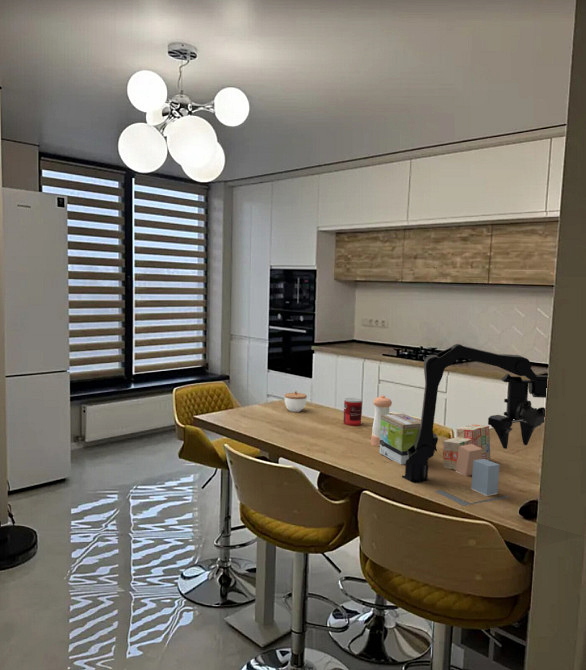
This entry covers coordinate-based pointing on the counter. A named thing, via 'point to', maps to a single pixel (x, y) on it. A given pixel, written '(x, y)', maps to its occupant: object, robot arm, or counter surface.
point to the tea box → (398, 436)
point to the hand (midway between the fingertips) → (515, 446)
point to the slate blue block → (485, 477)
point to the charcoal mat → (463, 500)
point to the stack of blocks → (466, 443)
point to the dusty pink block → (467, 458)
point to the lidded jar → (295, 401)
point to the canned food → (352, 411)
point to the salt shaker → (379, 417)
